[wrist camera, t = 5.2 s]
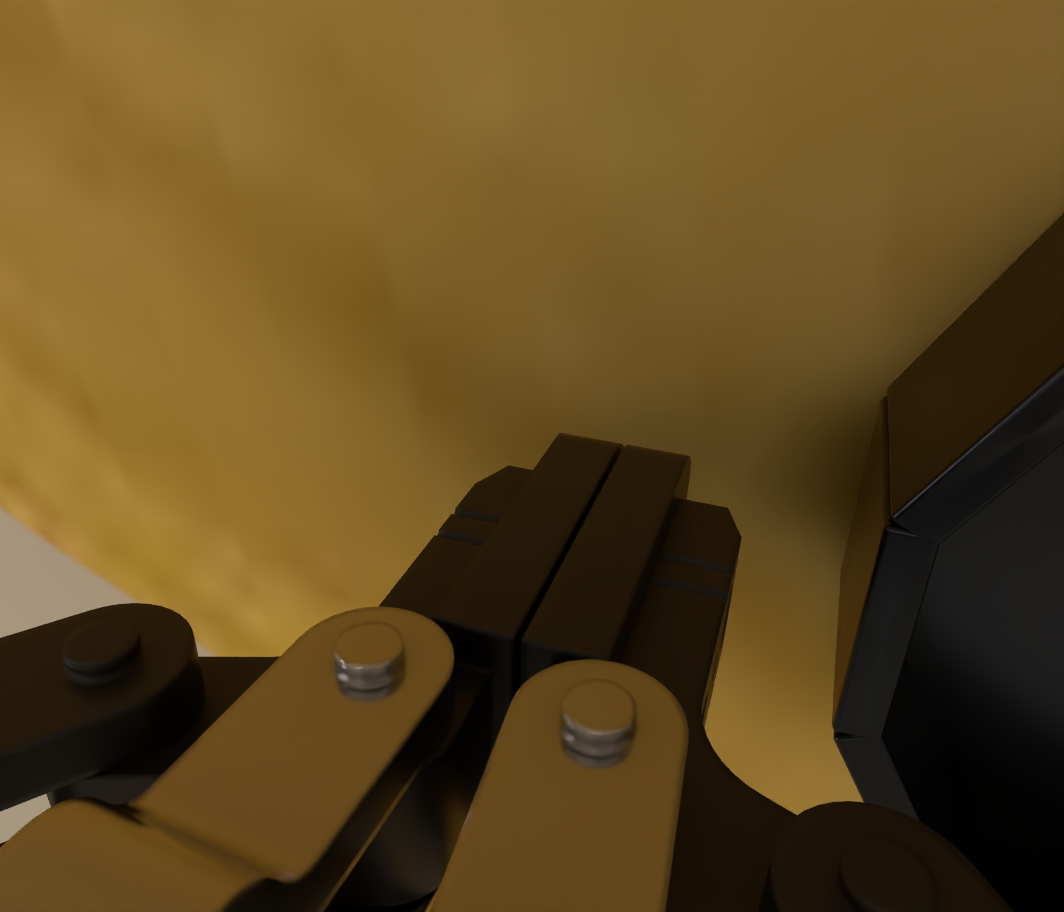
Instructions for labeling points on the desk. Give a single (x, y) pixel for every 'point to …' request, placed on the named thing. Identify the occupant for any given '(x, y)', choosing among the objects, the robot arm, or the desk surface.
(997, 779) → the pan
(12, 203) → the desk surface
